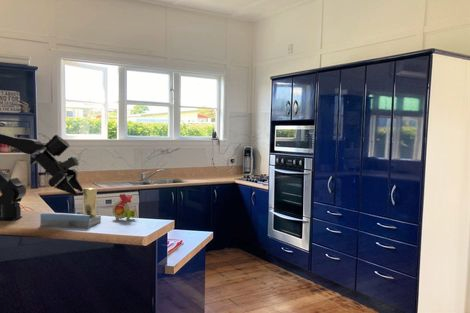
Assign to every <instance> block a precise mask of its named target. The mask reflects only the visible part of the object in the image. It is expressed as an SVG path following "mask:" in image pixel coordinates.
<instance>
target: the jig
mask: <svg viewBox="0 0 470 313" xmlns="http://www.w3.org/2000/svg"><path fill="white" fill-rule="evenodd" d="M101 222H102V216H101V215H97V214H96V215H83V214H74V213H73V214H71V213H46V212H44V213H43V212H42V213H40V227H54V228H55V227H57V228H78V229H89V228H92V227H93V226H95V225H98V224H99V223H101Z"/></svg>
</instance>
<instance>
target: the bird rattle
mask: <svg viewBox="0 0 470 313" xmlns="http://www.w3.org/2000/svg"><path fill="white" fill-rule="evenodd" d="M119 198H120V200H118V201H116V202H115V203H114V204H113V206H112V214H113V217H114V218H115V220H123V219H125V218H126V222H128V221H129V219H131V217H132V218H136V217H135V215H136V213H137V211H135V210H130V205H129V204H128V203H131V202H132V198H133V196H132V195H128V196H127V195H126V194H125V193H122V194H121V193H120V194H119Z"/></svg>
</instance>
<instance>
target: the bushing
mask: <svg viewBox="0 0 470 313" xmlns="http://www.w3.org/2000/svg"><path fill="white" fill-rule="evenodd" d="M82 189H83V191H82V192H83V196H82V200H83V201H82V203H83V204H82V215H97V203H98V202H97V201H98V200H97V194H98V190H97V189H98V188H96V187H85V188H82Z"/></svg>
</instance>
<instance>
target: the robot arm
mask: <svg viewBox="0 0 470 313" xmlns="http://www.w3.org/2000/svg"><path fill="white" fill-rule="evenodd" d="M0 144H1V145H5V146H9V147H12V148H14V149H16V150H18V151H19V152H22V153H24V154H26V155H35V156H31V157H30V162H29V164H30V165H34V164H36V163H37V164H38V165H39V166H40V167H41V168H42V169H43V171H44V173H45V174H48V175H49V176H50V179H49V180H48V181H47V182H48V186H50V187H51V188H54V189H57V190H59V191H63V192H66V193H68V194H71V195H77V191H79V192H83V189H84V188H83V187H82V185H81V184H80V182H79V180H78V171H77V169H76V168H74V167H77V166H79V165H80V163H79V162H78V161H79V159H77V157H73V156H71V157H69V158H68V159H67V160H64V161H61V160H57V159H56V156H57V157H60V156H61V155H62V154H63V153H64V152H65V151H67V149H69V148H70V143H68V142H67V141H66V139H63V138H62V137H60V136H59V135H57V134H55V135H53V136H52V138H51V139H50V140H49V141H48V142H47V143H42V142H41V140H39V139H34V138H24V137H17V136H13V135H9V134H5V133H1V132H0ZM41 151H42V152H41ZM25 185H26V184H25V183H23V182H21V180H20V179H19V178H18V177H14V178H11V177H9V176H8V175H7V174H6V173H5V172H3V171H2V169H0V193H1V195H0V221H15V220H18V219H21V218H22V217H23V216H22V215H21V214H22V212H21V211H22V210H21V209H22V208H21V205H20V203H21V201H22V199H23V198H24V197H25V196H26V193H27V188H26V186H25Z"/></svg>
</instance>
